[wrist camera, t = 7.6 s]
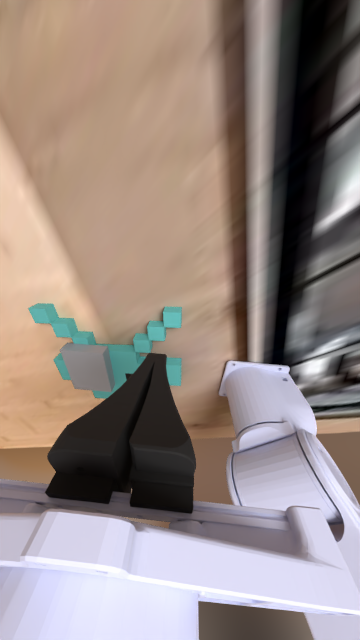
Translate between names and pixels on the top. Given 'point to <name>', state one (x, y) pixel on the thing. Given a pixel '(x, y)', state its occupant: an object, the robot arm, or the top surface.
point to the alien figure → (121, 356)
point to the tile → (89, 366)
